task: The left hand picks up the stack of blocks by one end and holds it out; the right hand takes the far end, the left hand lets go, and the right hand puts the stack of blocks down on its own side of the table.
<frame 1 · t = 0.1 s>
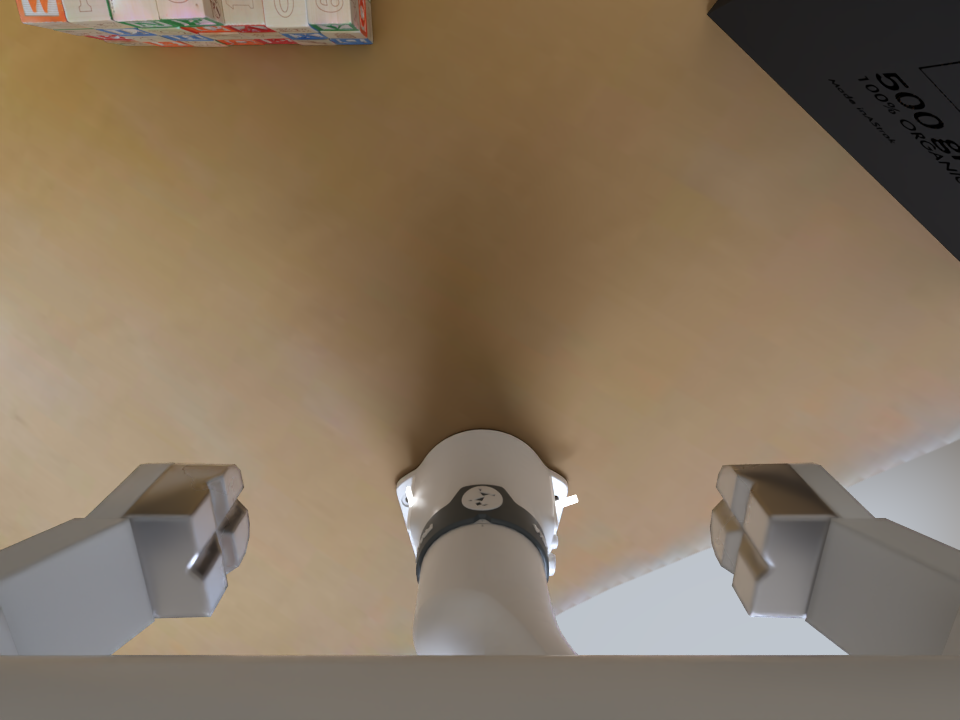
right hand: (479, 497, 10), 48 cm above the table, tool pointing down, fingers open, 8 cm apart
stack of blocks: (243, 4, 49), on the table
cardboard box: (947, 60, 51), on the table
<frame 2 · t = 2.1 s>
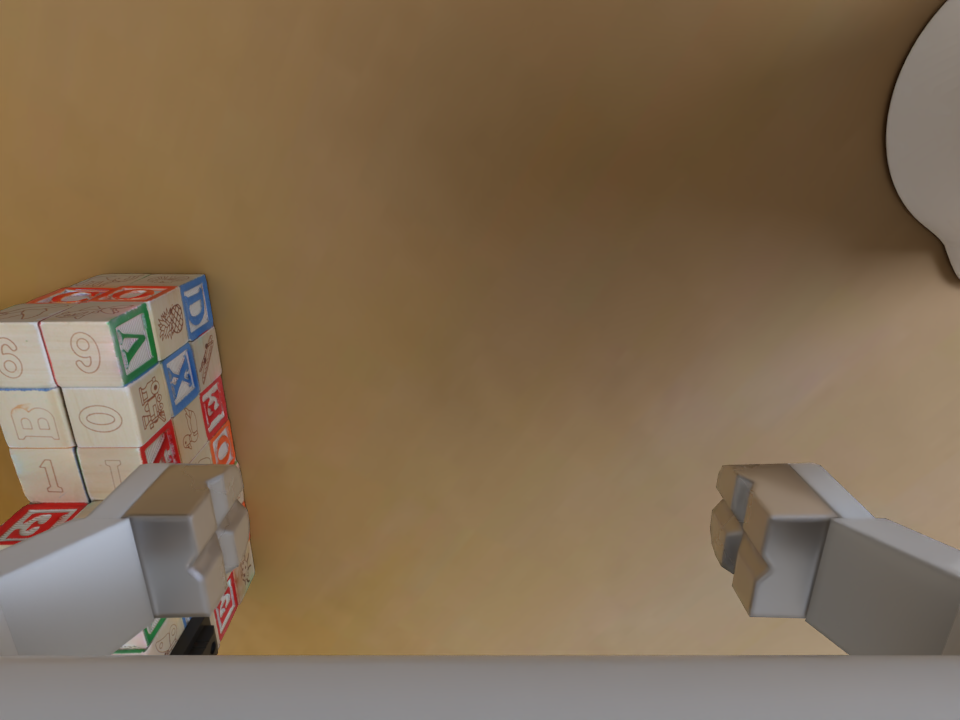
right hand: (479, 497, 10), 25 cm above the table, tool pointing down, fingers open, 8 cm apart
stack of blocks: (186, 438, 37), on the table, touching left hand
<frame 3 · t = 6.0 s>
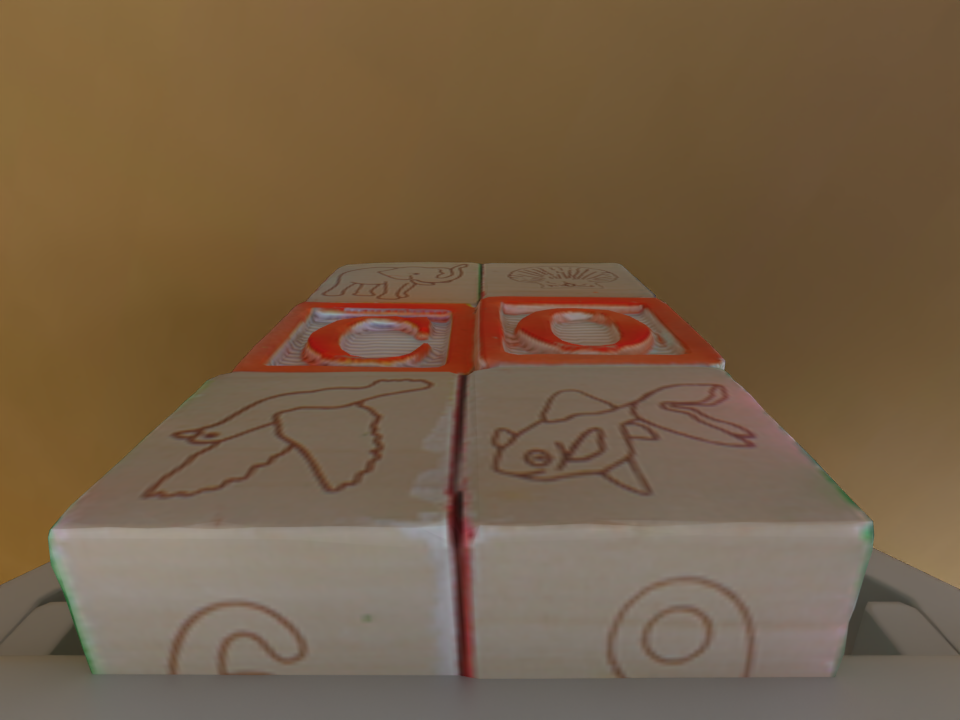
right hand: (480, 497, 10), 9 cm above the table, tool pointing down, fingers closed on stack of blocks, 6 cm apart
stack of blocks: (478, 636, 17), point 5 cm above the table, touching right hand, left hand
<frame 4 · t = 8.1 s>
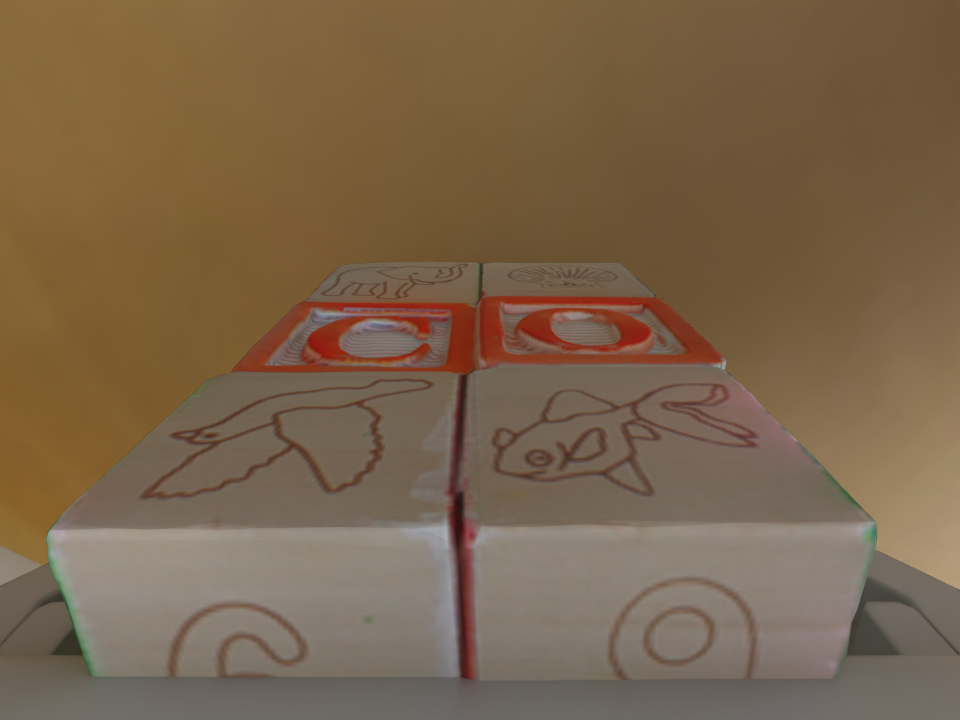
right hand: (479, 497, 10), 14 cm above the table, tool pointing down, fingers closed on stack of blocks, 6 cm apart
stack of blocks: (478, 636, 17), point 10 cm above the table, touching right hand
when the right hand's fingers open (6 cm above the table, at t = 13.8 s): stack of blocks stays where it is, on the table.
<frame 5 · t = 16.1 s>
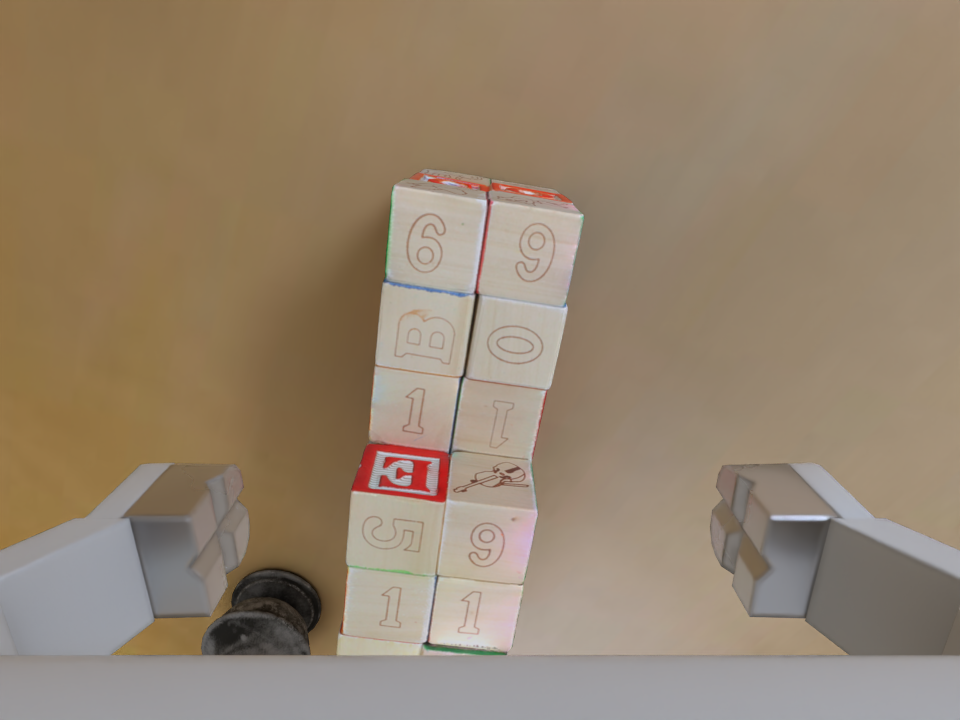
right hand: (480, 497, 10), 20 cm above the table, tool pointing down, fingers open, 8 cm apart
stack of blocks: (455, 389, 31), on the table
grey chess piece: (277, 602, 36), on the table
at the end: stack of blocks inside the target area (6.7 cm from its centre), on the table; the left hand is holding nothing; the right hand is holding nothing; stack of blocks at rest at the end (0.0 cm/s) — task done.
